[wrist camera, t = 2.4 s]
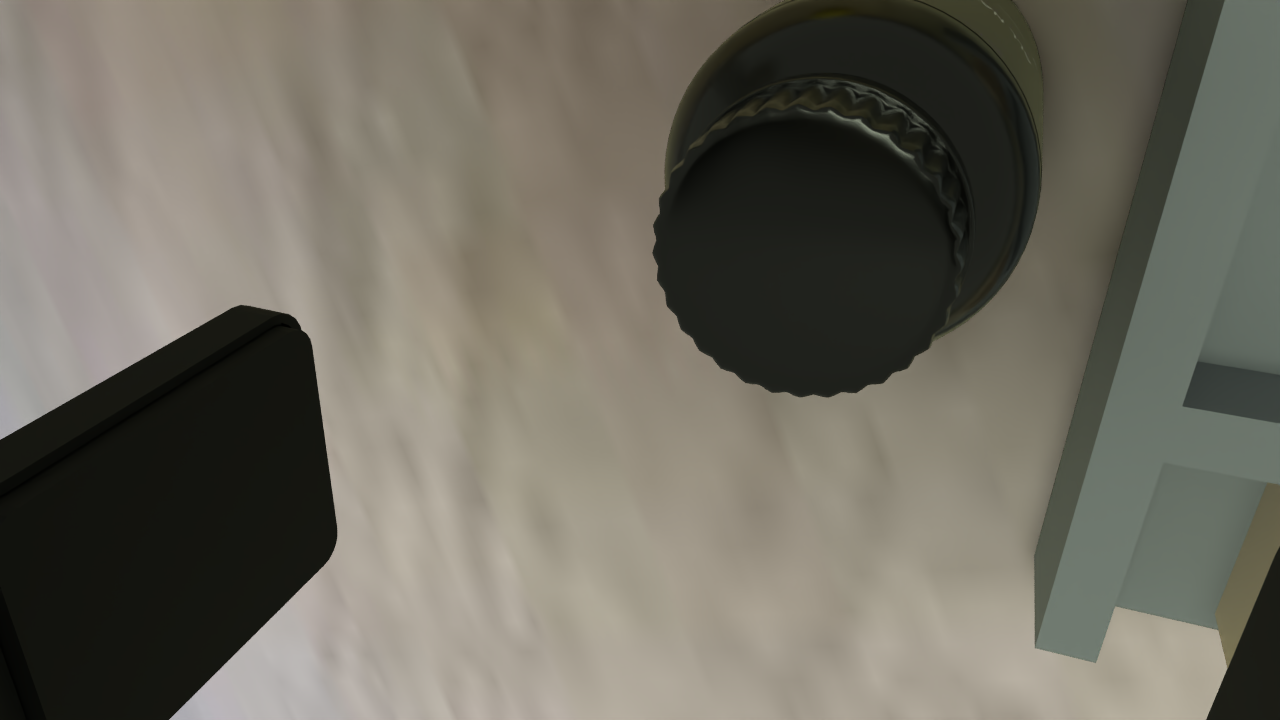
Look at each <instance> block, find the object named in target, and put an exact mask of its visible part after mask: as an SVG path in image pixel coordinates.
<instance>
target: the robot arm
mask: <svg viewBox="0 0 1280 720" xmlns="http://www.w3.org/2000/svg"><path fill="white" fill-rule="evenodd" d="M336 541H337V523H336V516H335V509H334V502H333V494H332V487H331V480H330V473H329V465H328V458H327V451H326V444H325V436H324V429H323V422H322V415H321V407H320V400H319V393H318V386H317V378H316V371H315V364H314V357H313V349H312V344H311V341H310V338H309V337H308V335H307V334H306V333H305V332H303V331H302V330H301V326H300V325H299V323H298V322H297V320H296V319H295V318H294V317H292V316H291V315H289V314H285V313H280V312H275V311H271V310H266V309H261V308H256V307H251V306H244V305H239V306H236V307H234V308H231V309H229V310H228V311H226V312H224V313H222V314H221V315H219V316H217V317H215V318H214V319H212V320H210V321H208V322H207V323H205V324H203V325H201V326H200V327H198V328H196V329H194V330H193V331H191V332H189V333H187V334H186V335H184V336H182V337H180V338H179V339H177V340H175V341H173V342H171V343H170V344H168V345H166V346H164V347H163V348H161V349H159V350H157V351H156V352H154V353H152V354H150V355H149V356H147V357H145V358H143V359H142V360H140V361H138V362H136V363H135V364H133V365H131V366H129V367H128V368H126V369H124V370H122V371H121V372H119V373H117V374H115V375H114V376H112V377H110V378H108V379H107V380H105V381H103V382H101V383H99V384H98V385H96V386H94V387H92V388H91V389H89V390H87V391H85V392H84V393H82V394H80V395H78V396H77V397H75V398H73V399H71V400H70V401H68V402H66V403H64V404H63V405H61V406H59V407H57V408H56V409H54V410H52V411H50V412H49V413H47V414H45V415H43V416H42V417H40V418H38V419H36V420H35V421H33V422H31V423H29V424H27V425H26V426H24V427H22V428H20V429H19V430H17V431H15V432H13V433H12V434H10V435H8V436H6V437H5V438H3V439H1V440H0V720H169V719H170V718H171V717H172V716H173V715H174V714H175V713H176V712H177V711H178V710H179V709H180V708H181V707H182V706H183V705H184V704H185V703H186V702H187V701H188V700H189V699H190V698H191V697H192V696H193V695H194V694H195V693H196V692H197V691H198V690H199V689H200V688H201V687H202V686H203V685H204V684H205V683H206V682H207V681H208V680H209V679H210V678H211V677H212V676H213V675H214V674H215V673H216V672H217V671H218V670H219V669H220V668H221V667H222V666H223V665H224V664H225V663H226V662H227V661H228V660H229V659H230V658H231V657H232V656H233V655H234V654H235V653H236V652H237V651H238V650H239V649H240V648H241V647H242V646H243V645H244V644H245V643H246V642H247V641H248V640H250V639H251V638H252V637H253V636H254V635H255V634H256V633H257V632H258V631H259V630H260V629H261V628H262V627H263V626H264V625H265V624H266V623H267V622H268V621H269V620H270V619H271V618H272V617H273V616H274V615H275V614H276V613H277V612H278V611H279V610H280V609H281V608H282V607H283V606H284V605H285V604H286V603H287V602H288V601H289V600H290V599H291V598H292V597H293V596H294V595H295V594H296V593H297V592H298V591H299V590H300V589H301V588H302V587H303V586H304V585H305V584H306V583H307V582H308V581H309V580H310V579H311V578H312V577H313V576H314V575H315V574H316V573H317V572H318V571H319V570H320V569H321V568H322V567H323V566H324V565H325V564H326V562H327V561H328V560H329V558H330V557H331V555H332V553H333V551H334V548H335V545H336ZM1206 720H1280V547H1279V549H1278V550H1277V552H1276V554H1275V556H1274V559H1273V561H1272V564H1271V566H1270V568H1269V571H1268V573H1267V576H1266V578H1265V580H1264V583H1263V585H1262V588H1261V590H1260V592H1259V595H1258V597H1257V600H1256V602H1255V604H1254V607H1253V609H1252V611H1251V614H1250V616H1249V619H1248V621H1247V623H1246V626H1245V628H1244V631H1243V633H1242V635H1241V638H1240V640H1239V643H1238V645H1237V647H1236V650H1235V652H1234V655H1233V657H1232V659H1231V662H1230V664H1229V667H1228V669H1227V671H1226V674H1225V676H1224V678H1223V681H1222V683H1221V686H1220V688H1219V690H1218V693H1217V695H1216V698H1215V700H1214V702H1213V705H1212V707H1211V710H1210V712H1209V714H1208V717H1207V719H1206Z"/></svg>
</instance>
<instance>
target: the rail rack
mask: <svg viewBox="0 0 1280 720" xmlns="http://www.w3.org/2000/svg"><path fill="white" fill-rule="evenodd" d="M1279 547H1280V0H1188V2H1187V6H1186V9H1185V13H1184V17H1183V20H1182V24H1181V27H1180V31H1179V35H1178V38H1177V42H1176V45H1175V49H1174V53H1173V56H1172V60H1171V64H1170V67H1169V71H1168V74H1167V78H1166V82H1165V85H1164V89H1163V92H1162V96H1161V100H1160V103H1159V107H1158V111H1157V114H1156V118H1155V121H1154V125H1153V129H1152V132H1151V136H1150V139H1149V143H1148V147H1147V150H1146V154H1145V158H1144V161H1143V165H1142V168H1141V172H1140V176H1139V179H1138V183H1137V186H1136V190H1135V194H1134V197H1133V201H1132V205H1131V208H1130V212H1129V215H1128V219H1127V223H1126V226H1125V230H1124V234H1123V237H1122V241H1121V244H1120V248H1119V252H1118V255H1117V259H1116V262H1115V266H1114V270H1113V273H1112V277H1111V281H1110V284H1109V288H1108V291H1107V295H1106V299H1105V302H1104V306H1103V309H1102V313H1101V317H1100V320H1099V324H1098V328H1097V331H1096V335H1095V338H1094V342H1093V346H1092V349H1091V353H1090V356H1089V360H1088V364H1087V367H1086V371H1085V375H1084V378H1083V382H1082V385H1081V389H1080V393H1079V396H1078V400H1077V403H1076V407H1075V411H1074V414H1073V418H1072V422H1071V425H1070V429H1069V432H1068V436H1067V440H1066V443H1065V447H1064V450H1063V454H1062V458H1061V461H1060V465H1059V469H1058V472H1057V476H1056V479H1055V483H1054V487H1053V490H1052V494H1051V497H1050V501H1049V505H1048V508H1047V512H1046V516H1045V519H1044V523H1043V526H1042V530H1041V534H1040V537H1039V541H1038V544H1037V548H1036V552H1035V555H1034V570H1035V648H1037V649H1041V650H1045V651H1049V652H1054V653H1058V654H1062V655H1066V656H1070V657H1074V658H1078V659H1082V660H1086V661H1090V662H1094V663H1096V661H1097V658H1098V655H1099V652H1100V649H1101V646H1102V643H1103V640H1104V637H1105V634H1106V631H1107V629H1108V626H1109V623H1110V620H1111V617H1112V614H1113V611H1114V608H1115V606H1117V607H1121V608H1125V609H1130V610H1134V611H1138V612H1143V613H1147V614H1151V615H1156V616H1160V617H1164V618H1169V619H1173V620H1177V621H1182V622H1186V623H1190V624H1195V625H1199V626H1204V627H1208V628H1212V629H1217V630H1219V634H1220V638H1221V642H1222V647H1223V651H1224V655H1225V659H1226V664H1227V668H1228V667H1229V664H1230V662H1231V659H1232V657H1233V655H1234V652H1235V650H1236V647H1237V645H1238V643H1239V640H1240V638H1241V635H1242V633H1243V631H1244V628H1245V626H1246V623H1247V621H1248V619H1249V616H1250V614H1251V611H1252V609H1253V607H1254V604H1255V602H1256V600H1257V597H1258V595H1259V592H1260V590H1261V588H1262V585H1263V583H1264V580H1265V578H1266V576H1267V573H1268V571H1269V568H1270V566H1271V564H1272V561H1273V559H1274V556H1275V554H1276V552H1277V550H1278V549H1279Z"/></svg>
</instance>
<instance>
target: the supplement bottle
mask: <svg viewBox="0 0 1280 720" xmlns="http://www.w3.org/2000/svg"><path fill="white" fill-rule="evenodd" d="M1042 147H1043V78H1042V69H1041V63H1040V57H1039V53H1038V50H1037V46H1036V43H1035V40H1034V38H1033V35H1032V33H1031V30H1030V28H1029V26H1028V24H1027V23H1026V21H1025V19H1024V17H1023V15H1022V14H1021V12H1020V11H1019V10H1018V8H1017V7H1016V5H1015V4H1014V3H1013V1H1012V0H784V1H782V2H780V3H779V4H777V5H775V6H774V7H772V8H770V9H769V10H767V11H765V12H764V13H762V14H761V15H759V16H757V17H756V18H754V19H753V20H752V21H750V22H749V23H747V24H746V25H744V26H743V27H741V28H740V29H739V30H738V31H737V32H735V33H734V34H733V35H732V36H731V37H729V38H728V39H727V40H726V41H725V42H724V43H723V44H722V45H721V46H720V47H719V48H718V49H717V50H716V51H715V52H714V53H713V54H712V55H711V56H710V57H709V58H708V59H707V61H706V62H705V63H704V64H703V66H702V67H701V68H700V70H699V71H698V72H697V74H696V75H695V77H694V78H693V80H692V82H691V83H690V85H689V86H688V88H687V90H686V92H685V94H684V96H683V98H682V100H681V102H680V104H679V107H678V109H677V112H676V115H675V117H674V120H673V124H672V127H671V131H670V134H669V138H668V144H667V150H666V158H665V191H664V192H663V193H662V194H661V196H660V198H659V207H660V214H659V215H658V217H657V218H656V220H655V222H654V224H653V227H654V233H655V235H656V243H655V246H654V249H653V256H654V258H655V261H656V263H657V265H658V273H657V281H658V282H659V284H660V286H661V287H662V288H663V289H664V291H665V295H666V304H667V307H668V308H669V309H670V310H671V311H672V312H673V313H674V314H675V315H676V316H677V318H678V322H679V325H680V328H681V330H682V331H683V332H685V333H686V334H688V335H689V336H691V337H692V338H693V340H694V342H695V344H696V346H697V347H698V349H699V351H701V352H703V353H704V354H706V355H708V356H711V357H712V358H713V359H714V361H715V362H716V363H717V364H718V366H719V367H720V368H721V369H724V370H726V371H731V372H733V373H735V374H736V375H737V376H738V377H739V378H740V379H741V380H743V381H744V382H745V383H749V384H758V385H761V386H762V387H764V388H765V389H766V390H768V391H770V392H772V393H780V392H788V393H790V394H792V395H794V396H797V397H805V396H809V395H813V394H815V395H818V396H822V397H828V398H829V397H831V396H834V395H836V394H838V393H840V392H847V393H857V392H859V391H860V390H862V389H863V388H864V387H866V386H867V385H871V384H881V383H884V382H885V381H886V380H887V379H888V378H889V377H890V375H891V374H892V373H894V372H897V371H902V370H905V369H907V368H908V367H909V366H910V364H911V363H912V361H913V360H914V357H915V356H916V355H918V354H921V353H922V352H924V351H926V350H928V349H929V348H930V347H931V345H932V342H933V341H935V340H937V339H939V338H941V337H943V336H945V335H946V334H948V333H950V332H952V331H954V330H955V329H956V328H958V327H959V326H961V325H962V324H964V323H965V322H967V321H968V320H969V319H970V318H972V317H973V316H974V315H975V314H976V313H978V312H979V311H980V310H981V309H982V308H983V307H984V306H985V305H986V304H987V303H988V302H989V301H990V300H991V299H992V298H993V297H994V296H995V295H996V294H997V293H998V291H999V290H1000V289H1001V288H1002V286H1003V285H1004V284H1005V283H1006V281H1007V280H1008V278H1009V277H1010V275H1011V274H1012V272H1013V271H1014V269H1015V267H1016V266H1017V264H1018V262H1019V260H1020V258H1021V256H1022V254H1023V252H1024V250H1025V248H1026V245H1027V243H1028V240H1029V237H1030V235H1031V232H1032V229H1033V225H1034V221H1035V217H1036V214H1037V209H1038V205H1039V198H1040V192H1041V179H1042Z"/></svg>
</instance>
